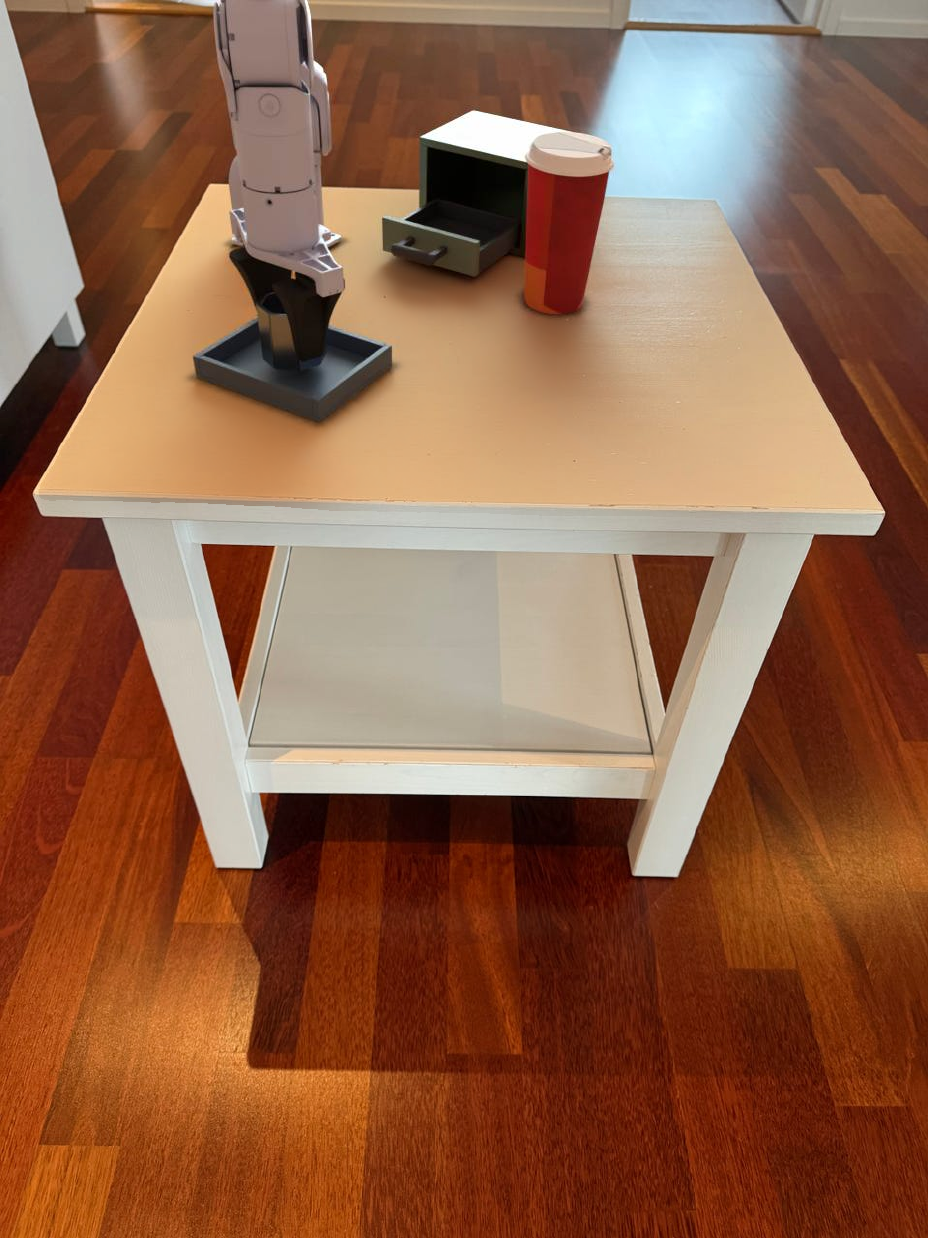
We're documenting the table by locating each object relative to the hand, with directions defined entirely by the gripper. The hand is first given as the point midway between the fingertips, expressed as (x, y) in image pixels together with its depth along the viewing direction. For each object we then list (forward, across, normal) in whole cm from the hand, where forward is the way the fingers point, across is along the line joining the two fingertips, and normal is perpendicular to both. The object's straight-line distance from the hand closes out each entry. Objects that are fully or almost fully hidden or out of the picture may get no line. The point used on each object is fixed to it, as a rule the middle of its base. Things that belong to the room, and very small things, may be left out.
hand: (293, 343), depth 80 cm
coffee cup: (+3, -2, -29) cm, 29 cm away
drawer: (+2, +12, -26) cm, 28 cm away
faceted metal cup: (+1, 0, 0) cm, 1 cm away
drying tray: (+3, 0, 0) cm, 3 cm away
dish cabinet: (+3, +16, -37) cm, 40 cm away
